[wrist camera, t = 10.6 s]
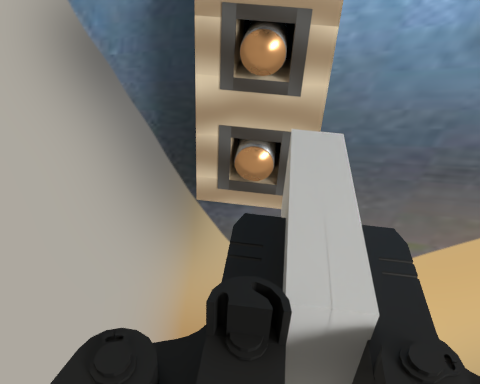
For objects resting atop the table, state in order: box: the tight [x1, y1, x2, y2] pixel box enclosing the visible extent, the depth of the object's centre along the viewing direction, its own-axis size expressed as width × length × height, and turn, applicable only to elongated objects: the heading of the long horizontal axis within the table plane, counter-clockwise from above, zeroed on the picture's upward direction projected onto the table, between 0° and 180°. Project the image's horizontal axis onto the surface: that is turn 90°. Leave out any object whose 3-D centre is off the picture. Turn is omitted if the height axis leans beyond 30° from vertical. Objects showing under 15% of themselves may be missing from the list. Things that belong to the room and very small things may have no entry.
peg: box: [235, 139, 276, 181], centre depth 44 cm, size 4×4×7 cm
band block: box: [195, 0, 343, 209], centre depth 42 cm, size 22×12×7 cm, turn 177°
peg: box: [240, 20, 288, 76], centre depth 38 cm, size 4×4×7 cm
